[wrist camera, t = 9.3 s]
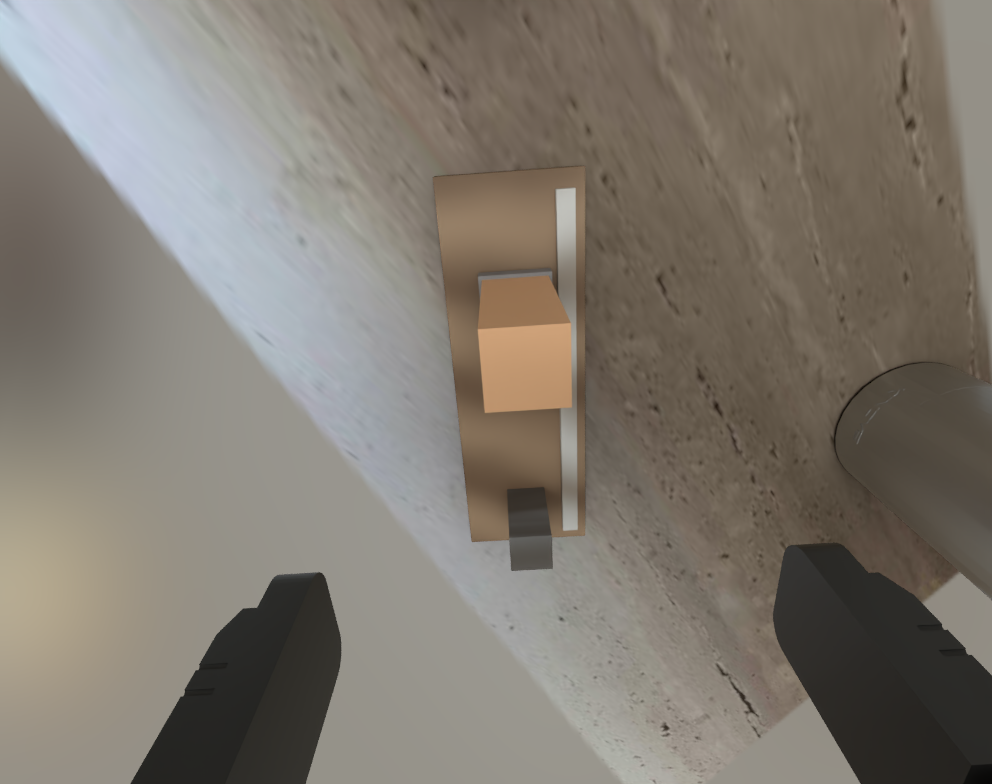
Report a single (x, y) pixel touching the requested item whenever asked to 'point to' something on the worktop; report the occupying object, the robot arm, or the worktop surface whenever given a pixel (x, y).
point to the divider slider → (523, 342)
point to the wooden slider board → (484, 436)
